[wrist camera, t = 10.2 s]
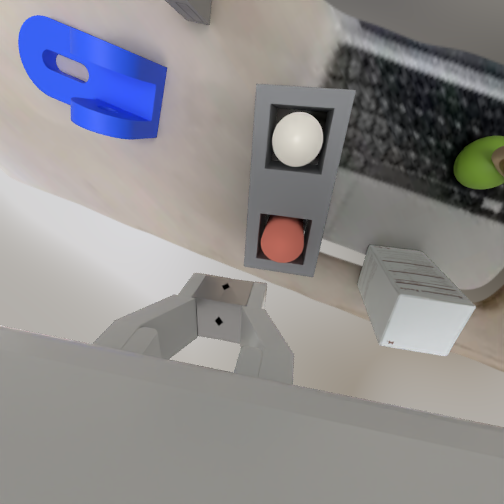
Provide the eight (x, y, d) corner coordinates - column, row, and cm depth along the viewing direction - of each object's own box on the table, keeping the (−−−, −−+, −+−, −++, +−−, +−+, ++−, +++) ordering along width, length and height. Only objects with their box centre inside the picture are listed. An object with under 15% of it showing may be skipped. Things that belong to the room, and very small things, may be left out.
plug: (322, 116, 29) (328, 114, 23) (314, 161, 31) (317, 169, 26) (280, 112, 30) (275, 109, 24) (275, 157, 32) (269, 164, 26)
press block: (343, 98, 29) (355, 90, 22) (311, 251, 38) (313, 277, 31) (266, 92, 30) (256, 83, 23) (253, 242, 39) (243, 266, 32)
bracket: (167, 68, 31) (121, 47, 23) (157, 137, 35) (114, 140, 27) (31, 10, 30) (-63, -30, 22) (37, 87, 34) (-42, 75, 26)
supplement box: (405, 291, 38) (447, 359, 27) (355, 284, 39) (376, 346, 28) (423, 249, 35) (480, 307, 24) (368, 242, 36) (398, 294, 25)
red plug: (306, 209, 33) (307, 227, 27) (300, 243, 35) (299, 265, 30) (269, 204, 34) (262, 221, 28) (265, 238, 36) (258, 259, 30)
